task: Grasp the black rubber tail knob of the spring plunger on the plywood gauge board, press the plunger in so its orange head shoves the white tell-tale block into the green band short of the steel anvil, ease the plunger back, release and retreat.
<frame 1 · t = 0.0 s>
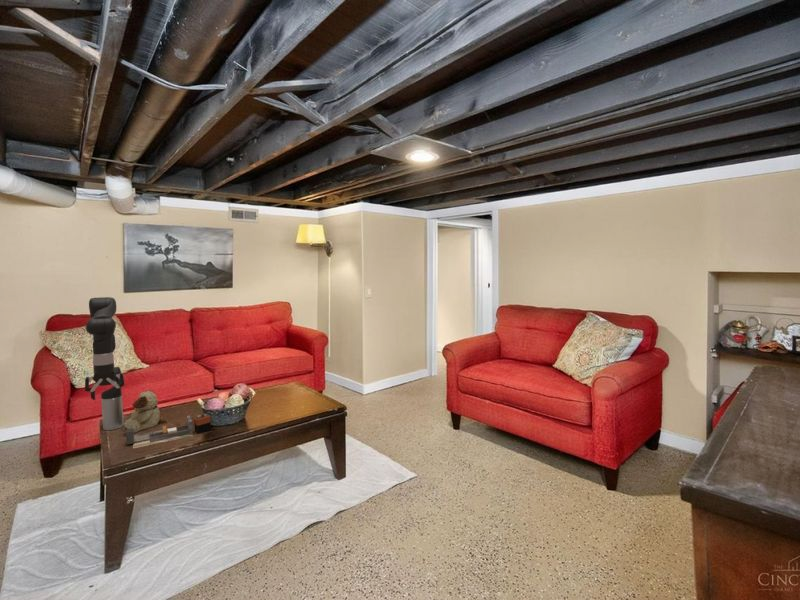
hand: (105, 397, 181), 29 cm above the table, fingers open, 8 cm apart
gauge board: (163, 439, 206), on the table
battery: (202, 433, 213), on the table
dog: (148, 426, 222), on the table
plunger: (146, 433, 202), point 5 cm above the table, slide at 0.0 cm
marker: (172, 435, 208), point 1 cm above the table, touching gauge board
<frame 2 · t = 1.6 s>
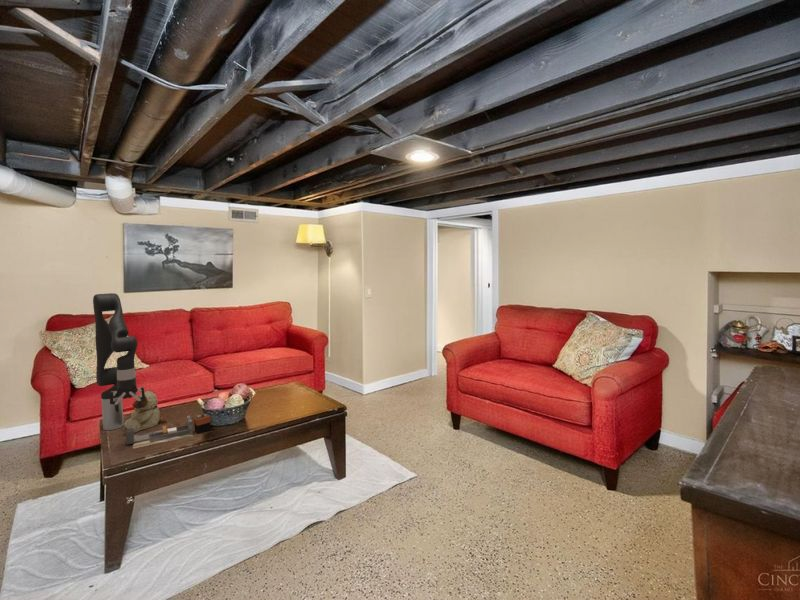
hand: (128, 409, 197), 18 cm above the table, fingers open, 8 cm apart
nothing on the table moved.
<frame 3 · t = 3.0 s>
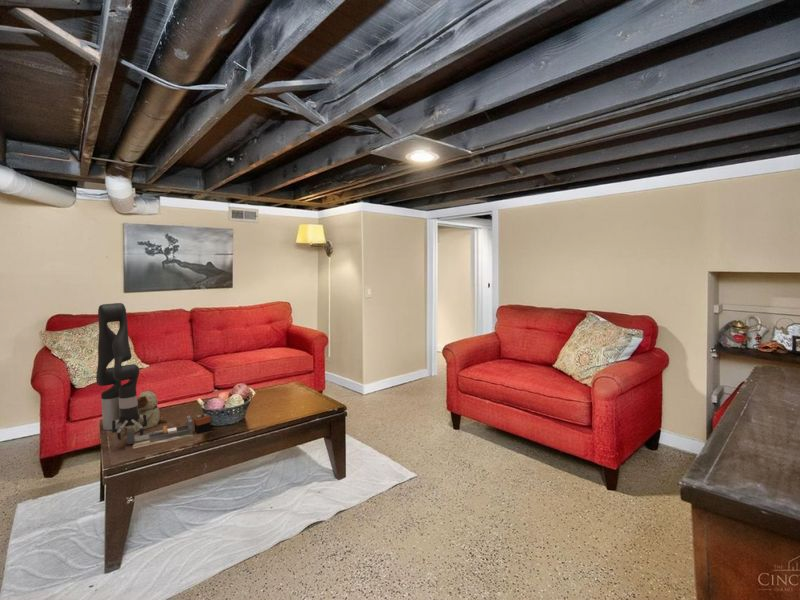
hand: (130, 437, 198), 4 cm above the table, fingers open, 8 cm apart
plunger: (147, 433, 202), point 5 cm above the table, slide at 0.2 cm, touching gripper
everything else where it was.
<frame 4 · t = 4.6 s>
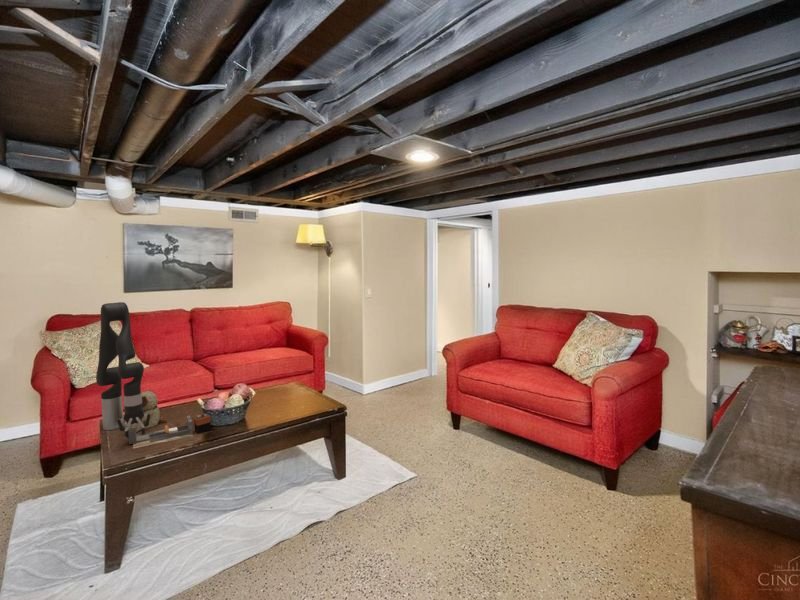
hand: (135, 436, 199), 4 cm above the table, fingers closed on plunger, 5 cm apart
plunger: (149, 432, 202), point 5 cm above the table, slide at 0.9 cm, touching gripper
marker: (173, 434, 208), point 1 cm above the table
everything else where it was.
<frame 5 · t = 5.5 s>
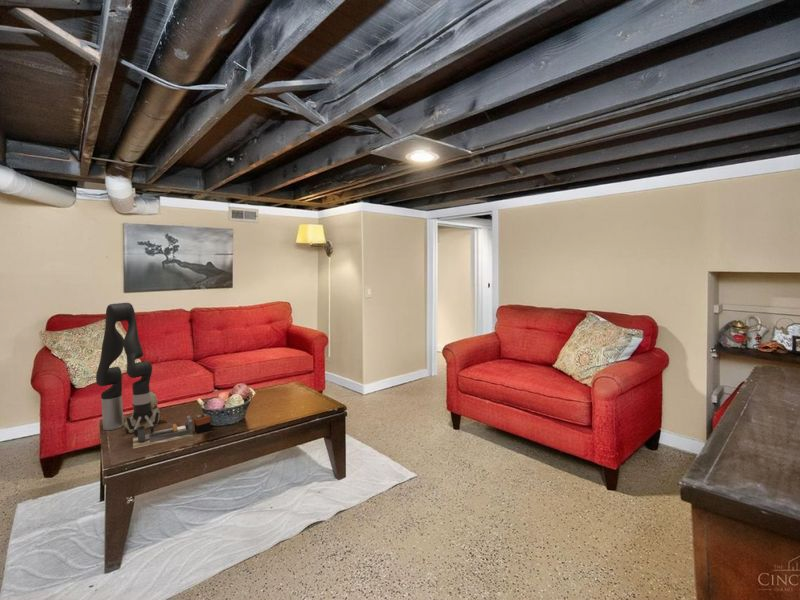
hand: (144, 434, 201), 4 cm above the table, fingers closed on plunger, 5 cm apart
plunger: (157, 431, 204), point 5 cm above the table, slide at 4.7 cm, touching gripper, marker
marker: (181, 433, 210), point 1 cm above the table, touching gauge board, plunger
everything else where it was.
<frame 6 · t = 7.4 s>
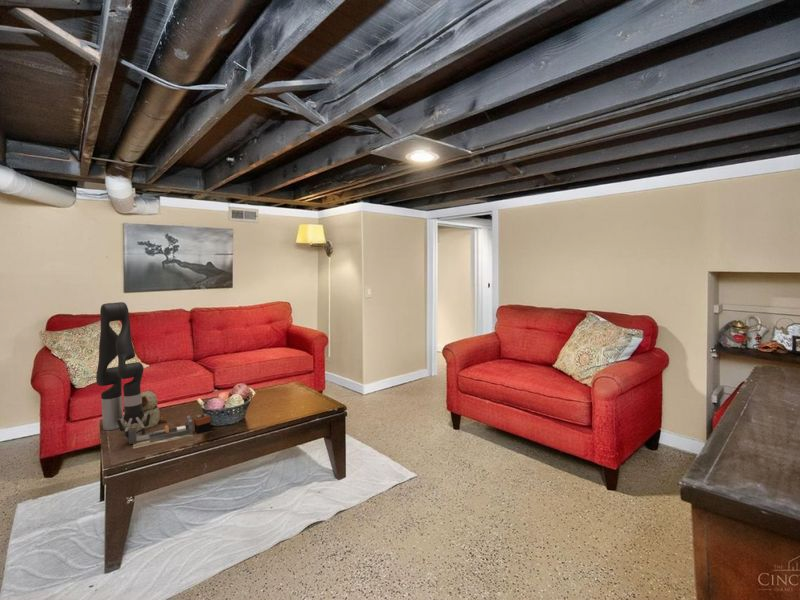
hand: (135, 436, 199), 4 cm above the table, fingers closed on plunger, 5 cm apart
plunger: (149, 432, 202), point 5 cm above the table, slide at 1.0 cm, touching gripper
marker: (181, 433, 210), point 1 cm above the table, touching gauge board
everything else where it was.
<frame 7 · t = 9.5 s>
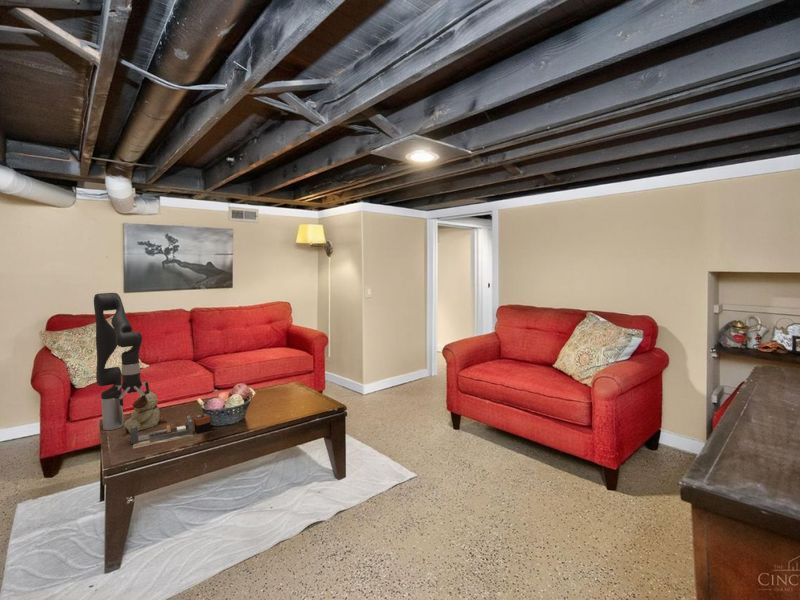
hand: (132, 404, 198), 21 cm above the table, fingers open, 8 cm apart
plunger: (150, 432, 203), point 5 cm above the table, slide at 1.7 cm
everything else where it was.
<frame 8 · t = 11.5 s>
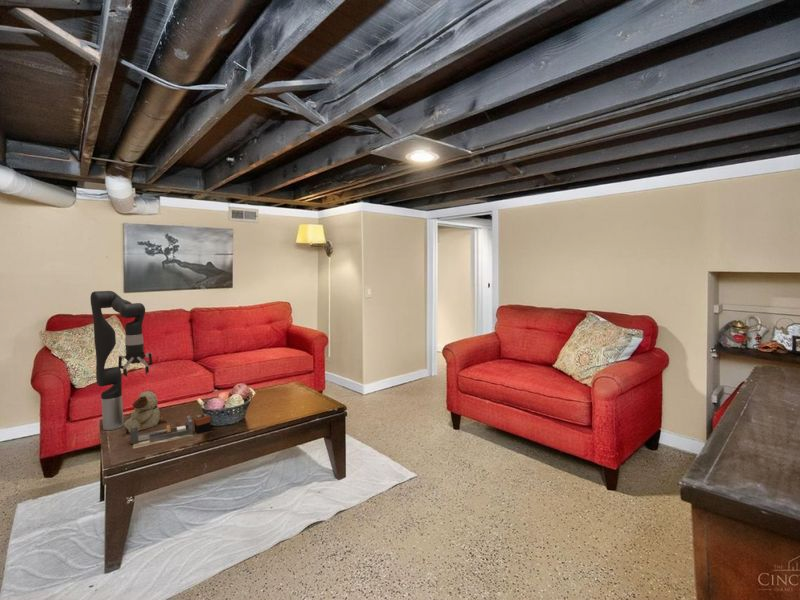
hand: (136, 374, 202), 34 cm above the table, fingers open, 8 cm apart
nothing on the table moved.
at the end: marker 1.6 cm from the target spot on the gauge board, point 1.2 cm above the gauge board's base; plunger slide at 1.7 cm; the gripper is holding nothing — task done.
